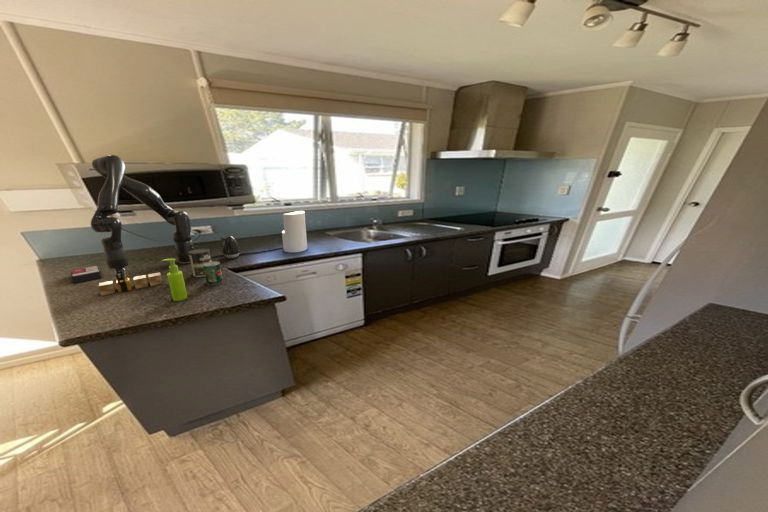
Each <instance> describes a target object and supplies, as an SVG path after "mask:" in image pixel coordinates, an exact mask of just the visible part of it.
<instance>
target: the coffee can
mask: <svg viewBox="0 0 768 512" xmlns="http://www.w3.org/2000/svg"><path fill="white" fill-rule="evenodd" d="M188 253H189V257H190V262H191V263H190V265H191V272H192V276H193V277H195V278H203V277H205V273H204V267H203V264H204V263H207V262H212V258H211V257H212V256H211V253H210V249H209V248H203V247H202V248H194V250H191V251H189V252H188Z"/></svg>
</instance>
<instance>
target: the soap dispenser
mask: <svg viewBox="0 0 768 512" xmlns="http://www.w3.org/2000/svg"><path fill="white" fill-rule="evenodd" d="M175 261H177V259H176V258H164V259H162V260H161V262H169V266H168V271H169V272H167V273H166V277H167V282H168V285H169V289H170V294H171V298H172V301H174V302H181V301H184V300H186V299H188V298H189V297H188V292H187V288H186V282H185V278H184V273H183V271H182V270H179V266H178V264H175Z"/></svg>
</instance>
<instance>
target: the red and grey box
mask: <svg viewBox="0 0 768 512" xmlns="http://www.w3.org/2000/svg"><path fill="white" fill-rule="evenodd" d="M70 278H71V280H72V283H73V284H77V283H83V282H87V281H91V280H97V279H102V278H103V277H102V274H101V270H100V268H99V266H97V265H94V266H88V267H82V268H77V269H71V271H70Z"/></svg>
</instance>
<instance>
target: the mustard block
mask: <svg viewBox="0 0 768 512" xmlns="http://www.w3.org/2000/svg"><path fill="white" fill-rule="evenodd" d="M125 280H126V285H127V288H128V290H127V291H132V290H133V286H132V282H131V278H130V277H126V279H125ZM120 282H124V281H123V280H121V281H120ZM115 287H116V289H117V292H118V293H122V292H123V291H122V289H121V286H120V285H119V284H118V280H117V279H116V281H115Z"/></svg>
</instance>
